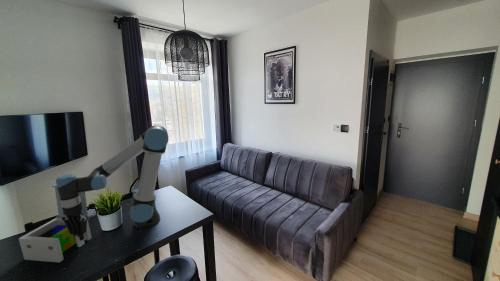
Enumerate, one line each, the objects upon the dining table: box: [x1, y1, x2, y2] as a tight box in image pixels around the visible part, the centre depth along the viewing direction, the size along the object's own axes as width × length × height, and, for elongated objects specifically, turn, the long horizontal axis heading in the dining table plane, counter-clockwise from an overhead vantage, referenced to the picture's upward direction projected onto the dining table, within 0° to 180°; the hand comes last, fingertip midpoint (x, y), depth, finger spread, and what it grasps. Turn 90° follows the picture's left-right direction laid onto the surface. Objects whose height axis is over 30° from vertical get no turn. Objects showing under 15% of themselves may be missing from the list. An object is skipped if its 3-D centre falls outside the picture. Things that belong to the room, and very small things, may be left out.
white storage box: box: [18, 214, 92, 263], centre depth 108 cm, size 21×19×14 cm
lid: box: [51, 184, 88, 218], centre depth 114 cm, size 18×20×2 cm
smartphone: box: [87, 209, 97, 218], centre depth 145 cm, size 7×1×15 cm
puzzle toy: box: [39, 225, 77, 254], centre depth 109 cm, size 10×10×10 cm
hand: (81, 245), depth 108 cm, fingers closed
